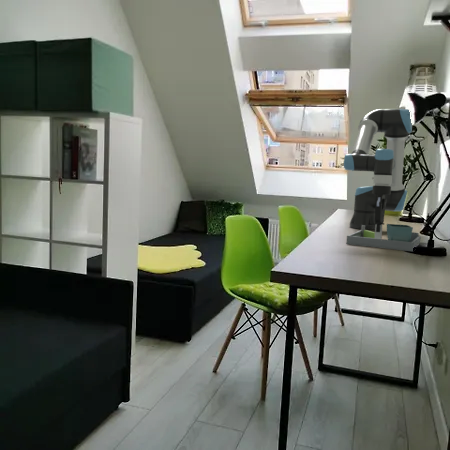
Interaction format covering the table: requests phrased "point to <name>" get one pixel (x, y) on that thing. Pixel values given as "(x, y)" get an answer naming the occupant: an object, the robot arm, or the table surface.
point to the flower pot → (399, 232)
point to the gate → (369, 234)
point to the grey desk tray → (382, 241)
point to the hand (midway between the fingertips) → (377, 239)
